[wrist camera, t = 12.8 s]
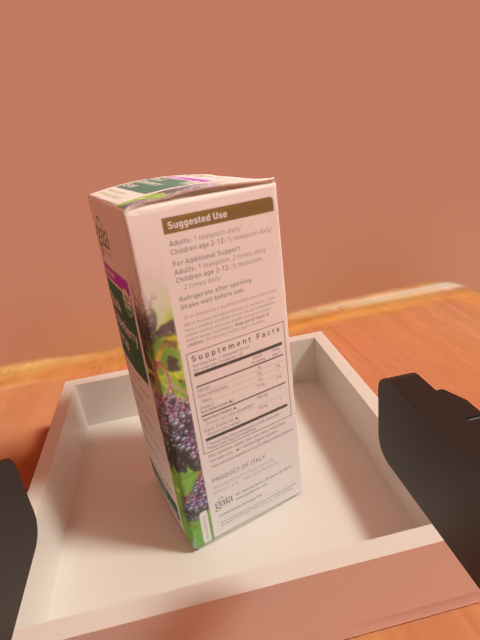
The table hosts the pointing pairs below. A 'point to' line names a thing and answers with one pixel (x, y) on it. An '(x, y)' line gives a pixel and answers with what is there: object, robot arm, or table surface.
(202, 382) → the syrup box
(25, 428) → the table surface
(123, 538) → the tray
